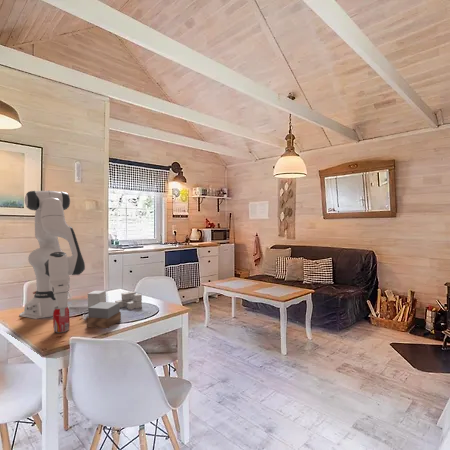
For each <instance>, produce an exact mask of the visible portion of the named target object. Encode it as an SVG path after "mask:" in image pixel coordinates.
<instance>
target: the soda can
mask: <svg viewBox="0 0 450 450" xmlns="http://www.w3.org/2000/svg"><path fill="white" fill-rule="evenodd" d="M52 317H53V318H52V321H53V322H52V325H53V331H54V332H55V333H57V334H63V333H66V332H67V331H69V330H70V324H71V323H70V309H69V307H68V305H67V308H65V316H63V317H61V316H60V309H59V308H58V306H57V307H55V309H54V311H53V316H52Z"/></svg>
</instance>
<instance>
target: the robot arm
mask: <svg viewBox="0 0 450 450" xmlns="http://www.w3.org/2000/svg"><path fill="white" fill-rule="evenodd" d="M24 204H25V207H26V209H28V210H30V211H35V213H34V237H35V239H36V240H37V242H38V246H39V248H36V249H34V250H33V251H32V252H30V253H29V255H28V257H27V261H28V263H29V265H30V266H32V269H33V272H34V275H35V280H36V281H35V283H36V290H35V291H33V292H32V295H33V297H32V299H30V300H29V301H27V303H26V304H25V305H24V308H23V309H24V310H23V311H22V312H20V313H19V317H23V318H27V319H33V320H36V319H37V320H38V319H42V318H50V317H53V311H54V309H55V307H57V306H58V308H59V309H60V316H61V317H63V316H65V308H67V306H68V300H69V299H68V298H69V291H70V289H71V278H70V276H79V275H81V274H82V273H83V272H84V271H85V270H86V261H85V260H84V258H83V255H82V252H81V248H80V246H79V242H78V239H77V236H76V234H75V230H74V229H73V227H72V226H70V225H69V224H68V223H67V221H66V217H65V211H66V210H67V209H69V207H70V204H71V198H70V195H69V193H68V192H65V191H57V190H31V191H28V192H26V193H25V196H24ZM58 238H62V239H63V240H66V241H67V242H68V245H69V249H70V252H71V256H68V254H67V252H63V250H62V248H61V246H60V242H59V239H58Z"/></svg>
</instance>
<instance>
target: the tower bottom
mask: <svg viewBox="0 0 450 450" xmlns="http://www.w3.org/2000/svg"><path fill="white" fill-rule="evenodd" d="M121 314H122V313H121V311H120V312H119V313H117V314H115V315H114V316H112V317H110V318H108V319H106V318H89V316H87V317H86V327H87V328H99V329H100V328H101V329H109V328H111V327H112V326H115V325H116V324H117V323H119V322H121V321H122V316H121ZM120 320H121V321H120Z"/></svg>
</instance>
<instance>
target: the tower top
mask: <svg viewBox="0 0 450 450" xmlns="http://www.w3.org/2000/svg"><path fill="white" fill-rule="evenodd" d="M87 311H88V312H87V315H88V317H89V318H106V319H108V318H110V317H112V316H114V315H115V314H117V313H119V312H121V311H120V307H119V303H115V302H108V301H106V302H100V303H98V304H95V305H93V306H91V307H89V308H88V307H87Z"/></svg>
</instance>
